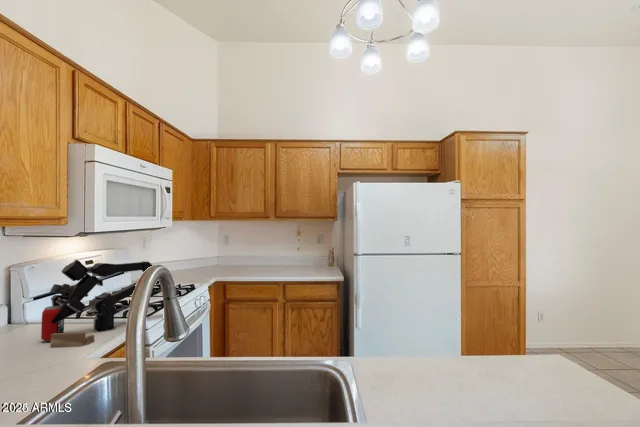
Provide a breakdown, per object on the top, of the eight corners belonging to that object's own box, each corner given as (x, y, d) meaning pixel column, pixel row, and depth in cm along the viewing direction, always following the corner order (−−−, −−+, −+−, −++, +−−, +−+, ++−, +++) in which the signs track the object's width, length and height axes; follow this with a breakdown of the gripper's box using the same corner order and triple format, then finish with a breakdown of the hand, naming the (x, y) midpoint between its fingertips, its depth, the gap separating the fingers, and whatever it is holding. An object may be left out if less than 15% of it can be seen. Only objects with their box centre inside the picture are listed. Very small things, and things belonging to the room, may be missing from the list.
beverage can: (65, 338, 127) (66, 306, 128) (42, 342, 122) (43, 310, 123) (61, 334, 132) (62, 304, 133) (39, 338, 127) (40, 307, 128)
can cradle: (60, 342, 124) (60, 330, 125) (94, 341, 125) (94, 329, 125) (48, 347, 119) (48, 334, 119) (84, 346, 119) (84, 333, 120)
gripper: (57, 274, 137) (21, 307, 127) (76, 277, 127) (39, 312, 117) (79, 291, 143) (46, 323, 133) (98, 294, 133) (65, 329, 123)
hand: (48, 321), depth 126 cm, fingers closed on beverage can, 7 cm apart
